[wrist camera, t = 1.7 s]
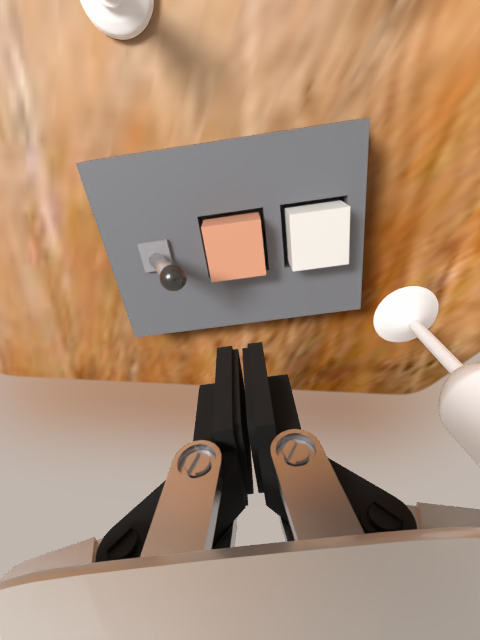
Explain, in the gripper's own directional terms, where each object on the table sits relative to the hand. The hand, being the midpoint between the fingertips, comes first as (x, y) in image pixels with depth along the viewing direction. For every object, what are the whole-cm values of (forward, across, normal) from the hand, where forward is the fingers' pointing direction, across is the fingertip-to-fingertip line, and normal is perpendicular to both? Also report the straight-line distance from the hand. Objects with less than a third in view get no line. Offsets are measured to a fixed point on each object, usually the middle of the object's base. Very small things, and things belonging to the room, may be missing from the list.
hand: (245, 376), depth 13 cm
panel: (+20, 0, 0) cm, 20 cm away
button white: (+17, -6, 0) cm, 18 cm away
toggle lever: (+16, +7, 0) cm, 17 cm away
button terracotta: (+17, 0, 0) cm, 17 cm away
